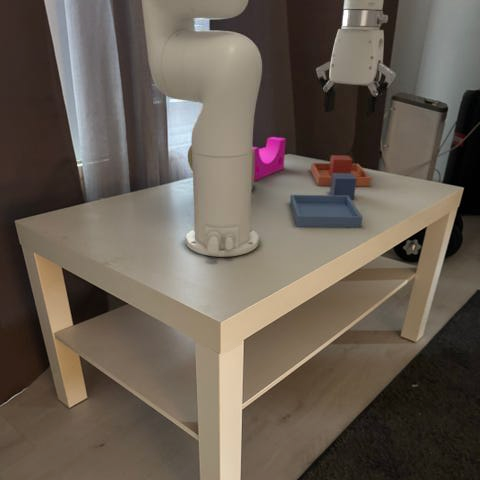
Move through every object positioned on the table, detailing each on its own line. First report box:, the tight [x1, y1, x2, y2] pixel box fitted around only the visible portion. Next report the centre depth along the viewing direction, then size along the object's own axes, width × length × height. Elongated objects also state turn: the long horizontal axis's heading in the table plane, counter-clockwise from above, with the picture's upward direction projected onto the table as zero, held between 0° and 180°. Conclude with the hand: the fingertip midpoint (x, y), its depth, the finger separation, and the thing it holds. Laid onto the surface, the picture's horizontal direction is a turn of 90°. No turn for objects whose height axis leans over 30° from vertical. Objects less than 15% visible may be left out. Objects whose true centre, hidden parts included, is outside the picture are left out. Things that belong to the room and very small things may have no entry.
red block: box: [329, 154, 353, 177], centre depth 119 cm, size 4×4×4 cm
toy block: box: [252, 136, 286, 182], centre depth 121 cm, size 15×6×8 cm, turn 146°
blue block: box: [329, 173, 357, 200], centre depth 107 cm, size 4×4×4 cm
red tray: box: [310, 162, 371, 187], centre depth 120 cm, size 13×12×2 cm
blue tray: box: [289, 194, 363, 228], centre depth 96 cm, size 13×12×2 cm
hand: (349, 113), depth 105 cm, fingers open, 9 cm apart
